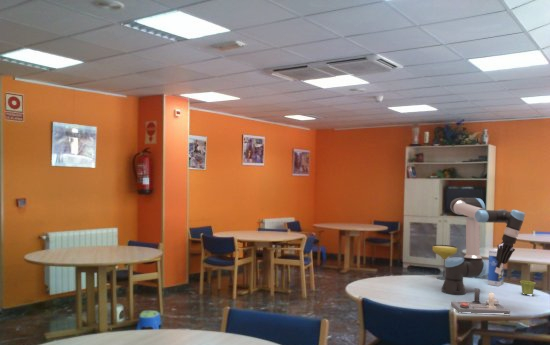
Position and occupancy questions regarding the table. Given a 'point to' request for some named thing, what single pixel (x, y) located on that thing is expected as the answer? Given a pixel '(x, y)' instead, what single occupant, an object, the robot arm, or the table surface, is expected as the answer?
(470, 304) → the panel
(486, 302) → the rocker
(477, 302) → the black lever
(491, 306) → the cream tapered knob
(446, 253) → the cocktail glass
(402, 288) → the table surface
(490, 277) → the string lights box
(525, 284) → the plant pot
